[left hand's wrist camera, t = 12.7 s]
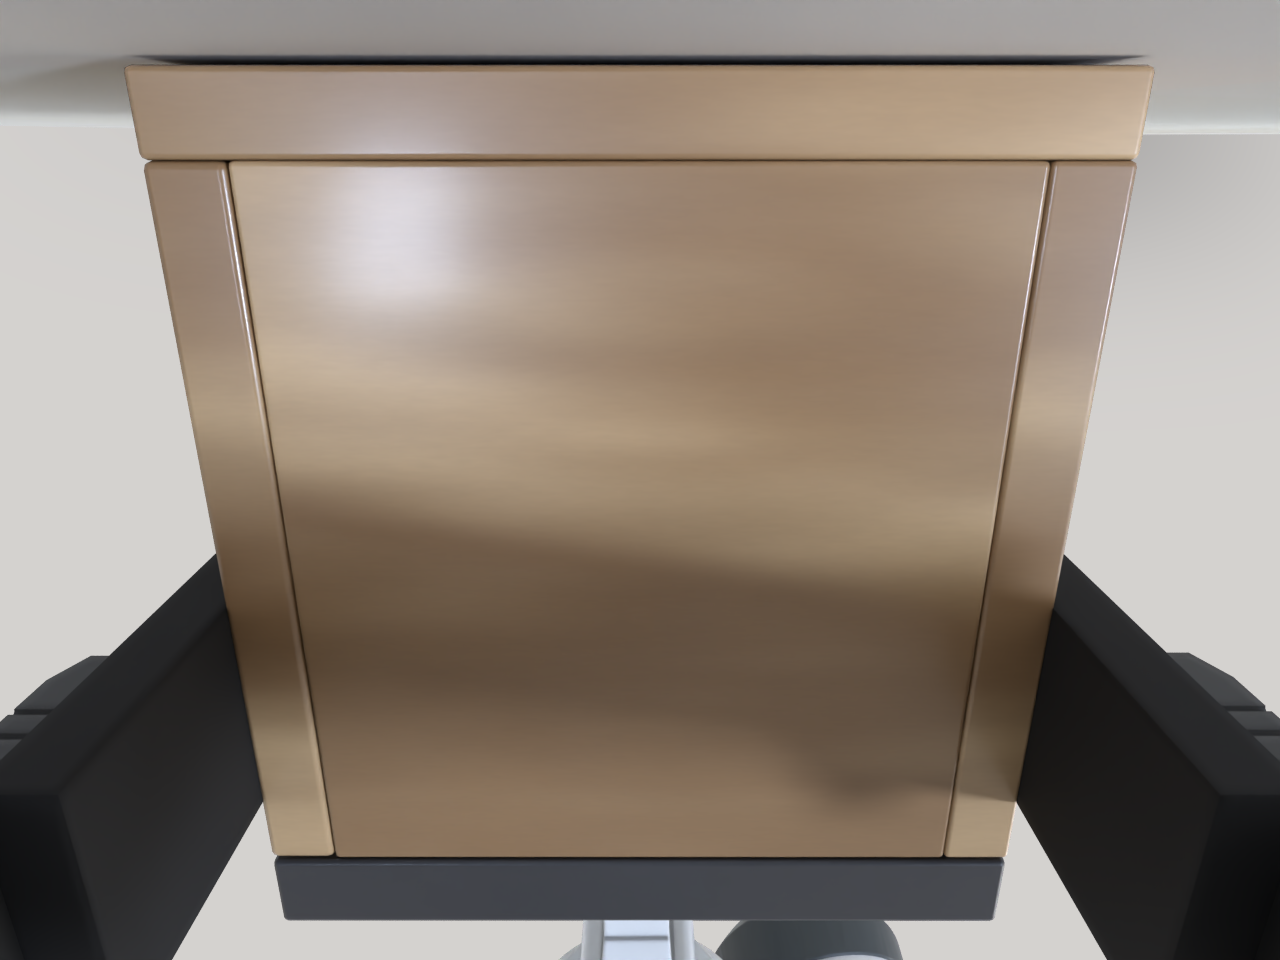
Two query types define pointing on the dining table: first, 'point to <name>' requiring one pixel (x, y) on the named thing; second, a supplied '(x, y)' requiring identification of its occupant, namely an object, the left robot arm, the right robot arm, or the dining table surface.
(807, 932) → the right robot arm
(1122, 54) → the dining table surface
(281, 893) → the lid
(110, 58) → the dining table surface
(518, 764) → the chest
